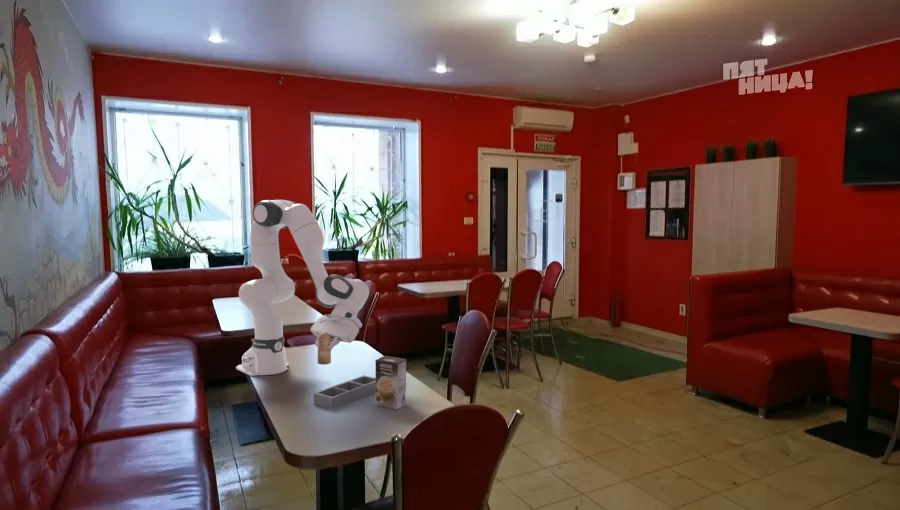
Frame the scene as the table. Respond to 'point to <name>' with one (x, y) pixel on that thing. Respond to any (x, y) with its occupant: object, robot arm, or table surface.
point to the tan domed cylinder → (324, 349)
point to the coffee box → (390, 382)
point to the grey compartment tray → (345, 392)
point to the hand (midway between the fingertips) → (323, 347)
